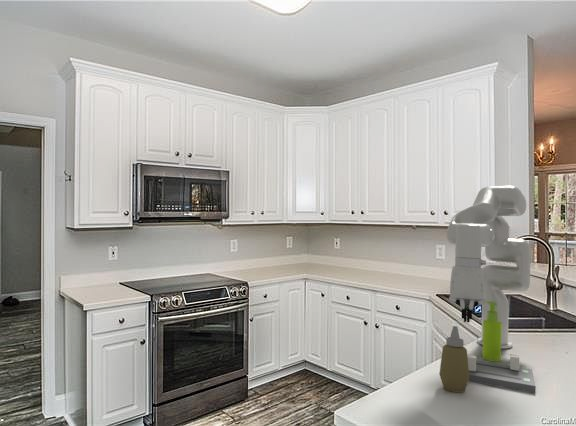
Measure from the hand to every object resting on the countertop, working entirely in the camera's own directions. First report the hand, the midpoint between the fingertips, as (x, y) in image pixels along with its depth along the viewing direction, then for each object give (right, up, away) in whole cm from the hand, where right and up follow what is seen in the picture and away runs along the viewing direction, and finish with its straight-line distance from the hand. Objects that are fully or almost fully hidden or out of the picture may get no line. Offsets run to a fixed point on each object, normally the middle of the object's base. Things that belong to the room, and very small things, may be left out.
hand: (466, 321), depth 132 cm
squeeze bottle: (-8, -17, -11) cm, 22 cm away
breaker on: (+16, -15, +1) cm, 22 cm away
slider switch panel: (+8, -17, 0) cm, 19 cm away
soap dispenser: (+16, -18, +18) cm, 31 cm away
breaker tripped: (+1, -15, -1) cm, 15 cm away
